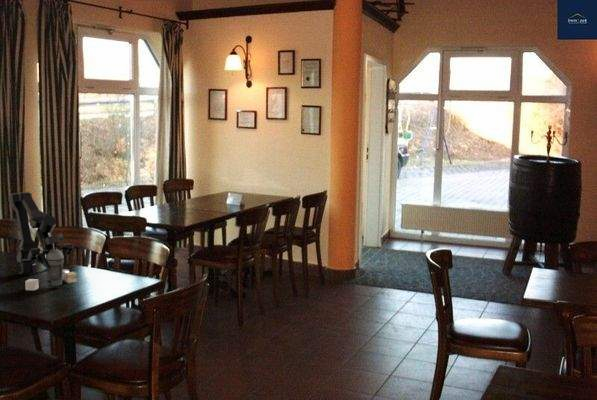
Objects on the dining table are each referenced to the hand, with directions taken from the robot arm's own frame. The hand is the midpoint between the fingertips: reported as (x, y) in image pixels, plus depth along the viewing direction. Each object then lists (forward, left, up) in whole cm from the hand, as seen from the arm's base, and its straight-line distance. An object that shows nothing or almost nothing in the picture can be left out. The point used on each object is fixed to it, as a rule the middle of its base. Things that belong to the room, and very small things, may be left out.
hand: (57, 267), depth 283 cm
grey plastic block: (-10, -4, -9) cm, 14 cm away
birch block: (-2, +11, -9) cm, 15 cm away
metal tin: (-8, +14, -9) cm, 18 cm away
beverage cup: (-1, +1, -8) cm, 8 cm away
